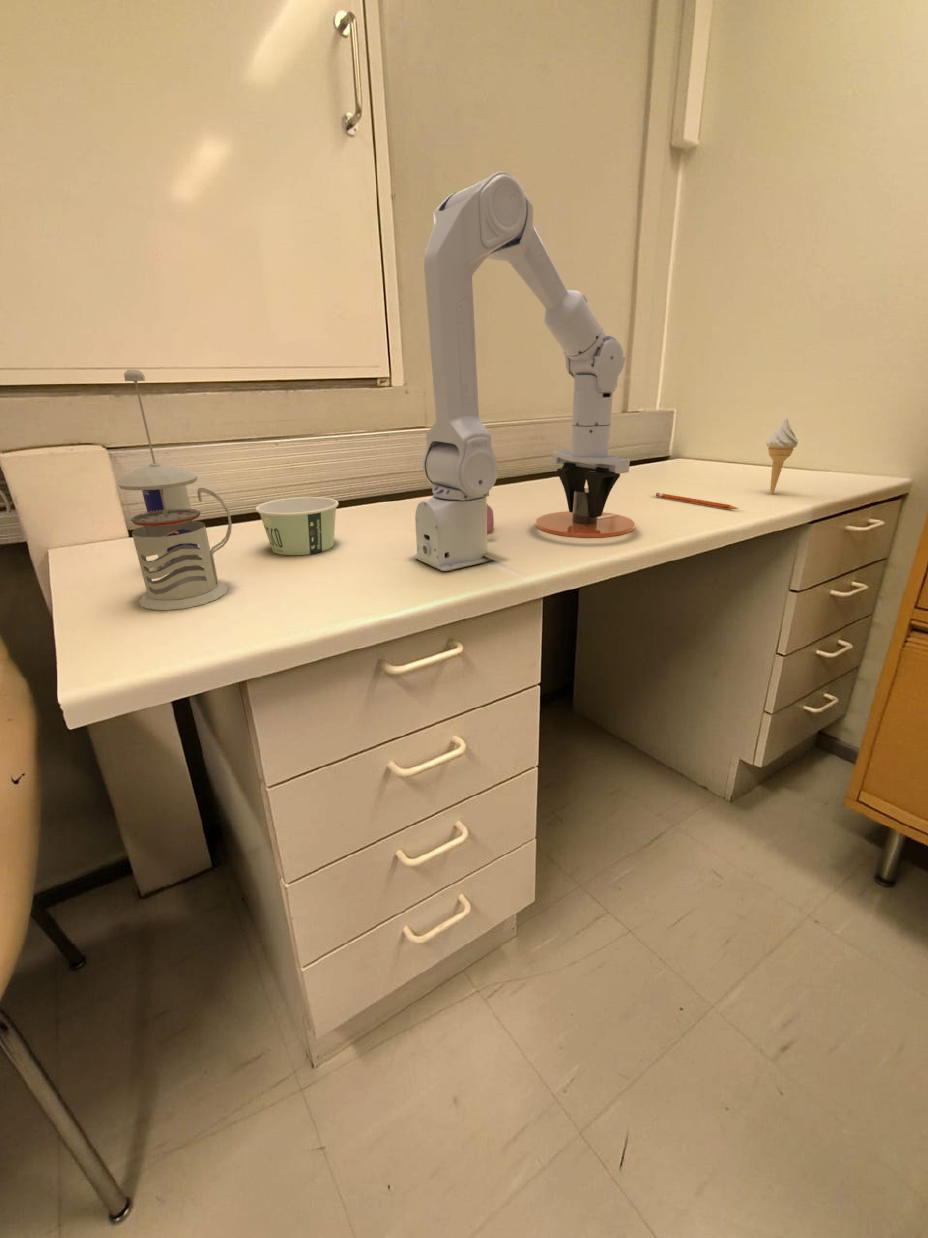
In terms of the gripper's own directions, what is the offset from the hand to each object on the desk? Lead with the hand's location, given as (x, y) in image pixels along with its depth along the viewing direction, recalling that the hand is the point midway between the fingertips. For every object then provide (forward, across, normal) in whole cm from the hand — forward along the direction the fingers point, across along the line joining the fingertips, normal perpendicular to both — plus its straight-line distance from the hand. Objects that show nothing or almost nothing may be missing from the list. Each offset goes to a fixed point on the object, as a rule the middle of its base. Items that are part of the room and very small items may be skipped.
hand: (585, 514), depth 91 cm
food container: (+3, +20, +40) cm, 45 cm away
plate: (+2, 0, 0) cm, 2 cm away
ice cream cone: (+3, -2, -52) cm, 52 cm away
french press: (+3, +8, +58) cm, 59 cm away
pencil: (+3, +2, -32) cm, 32 cm away
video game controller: (+3, +10, +17) cm, 20 cm away
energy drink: (+3, +22, +57) cm, 61 cm away
